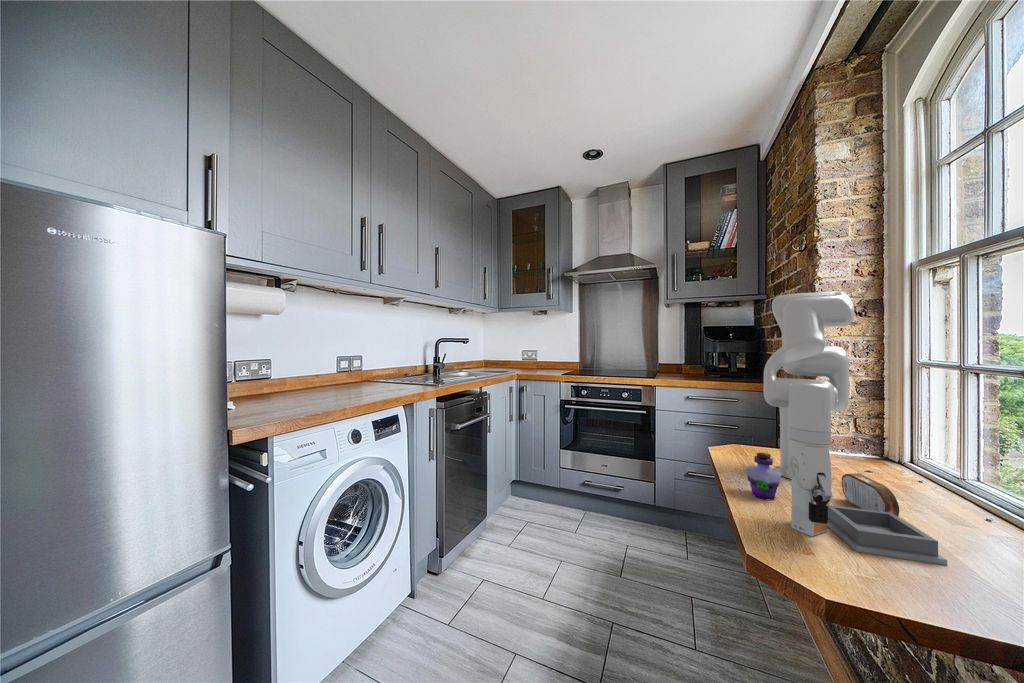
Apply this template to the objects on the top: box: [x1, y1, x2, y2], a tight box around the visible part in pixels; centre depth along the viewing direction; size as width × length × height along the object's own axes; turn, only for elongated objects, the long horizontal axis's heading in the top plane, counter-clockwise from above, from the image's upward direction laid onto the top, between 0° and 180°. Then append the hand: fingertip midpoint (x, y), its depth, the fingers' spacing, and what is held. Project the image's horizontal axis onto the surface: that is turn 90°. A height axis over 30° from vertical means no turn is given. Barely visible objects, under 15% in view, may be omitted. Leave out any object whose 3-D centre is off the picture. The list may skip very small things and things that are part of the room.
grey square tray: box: [827, 504, 948, 566], centre depth 75 cm, size 14×14×4 cm
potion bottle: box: [745, 452, 782, 501], centre depth 97 cm, size 9×9×12 cm
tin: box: [841, 472, 900, 517], centre depth 89 cm, size 15×3×8 cm, turn 168°
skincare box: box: [790, 477, 828, 537], centre depth 79 cm, size 6×4×12 cm
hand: (809, 513), depth 79 cm, fingers closed on skincare box, 6 cm apart
